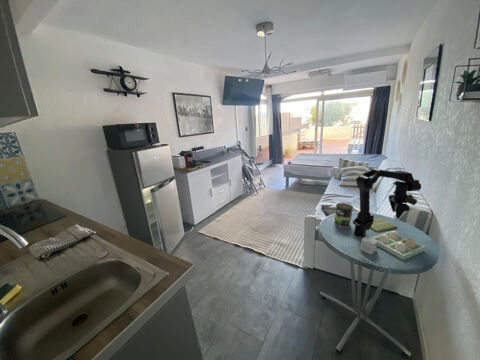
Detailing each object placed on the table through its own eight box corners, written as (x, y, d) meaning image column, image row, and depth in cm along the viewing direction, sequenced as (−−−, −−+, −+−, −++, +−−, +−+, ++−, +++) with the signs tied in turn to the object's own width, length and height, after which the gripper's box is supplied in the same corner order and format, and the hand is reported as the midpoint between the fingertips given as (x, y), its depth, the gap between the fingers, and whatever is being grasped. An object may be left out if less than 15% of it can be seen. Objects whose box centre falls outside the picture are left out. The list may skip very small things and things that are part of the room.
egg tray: (402, 261, 103) (404, 255, 102) (369, 242, 119) (370, 237, 118) (423, 252, 109) (425, 247, 108) (389, 235, 125) (390, 231, 124)
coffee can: (343, 229, 134) (345, 210, 130) (331, 222, 143) (333, 204, 139) (353, 225, 138) (356, 207, 134) (341, 219, 147) (343, 201, 143)
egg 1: (384, 246, 114) (386, 237, 112) (377, 242, 117) (378, 233, 116) (389, 244, 115) (391, 235, 113) (382, 240, 119) (384, 231, 117)
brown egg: (405, 249, 111) (407, 240, 109) (402, 245, 114) (405, 235, 113) (415, 251, 109) (417, 241, 107) (412, 246, 113) (414, 237, 111)
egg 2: (394, 243, 116) (396, 233, 115) (386, 239, 120) (388, 230, 119) (399, 241, 118) (401, 232, 116) (391, 237, 122) (393, 228, 120)
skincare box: (371, 256, 108) (373, 244, 105) (359, 250, 112) (361, 239, 110) (376, 251, 111) (378, 240, 109) (364, 246, 116) (366, 235, 114)
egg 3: (401, 255, 106) (403, 245, 104) (392, 251, 110) (394, 241, 108) (406, 253, 107) (408, 243, 106) (397, 248, 111) (399, 239, 110)
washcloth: (360, 224, 140) (361, 220, 139) (380, 220, 144) (381, 216, 143) (377, 234, 128) (378, 230, 127) (398, 230, 132) (399, 225, 131)
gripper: (424, 198, 110) (417, 223, 114) (411, 188, 126) (406, 210, 131) (399, 196, 114) (394, 220, 118) (390, 186, 130) (386, 208, 135)
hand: (395, 214), depth 125 cm, fingers open, 9 cm apart
